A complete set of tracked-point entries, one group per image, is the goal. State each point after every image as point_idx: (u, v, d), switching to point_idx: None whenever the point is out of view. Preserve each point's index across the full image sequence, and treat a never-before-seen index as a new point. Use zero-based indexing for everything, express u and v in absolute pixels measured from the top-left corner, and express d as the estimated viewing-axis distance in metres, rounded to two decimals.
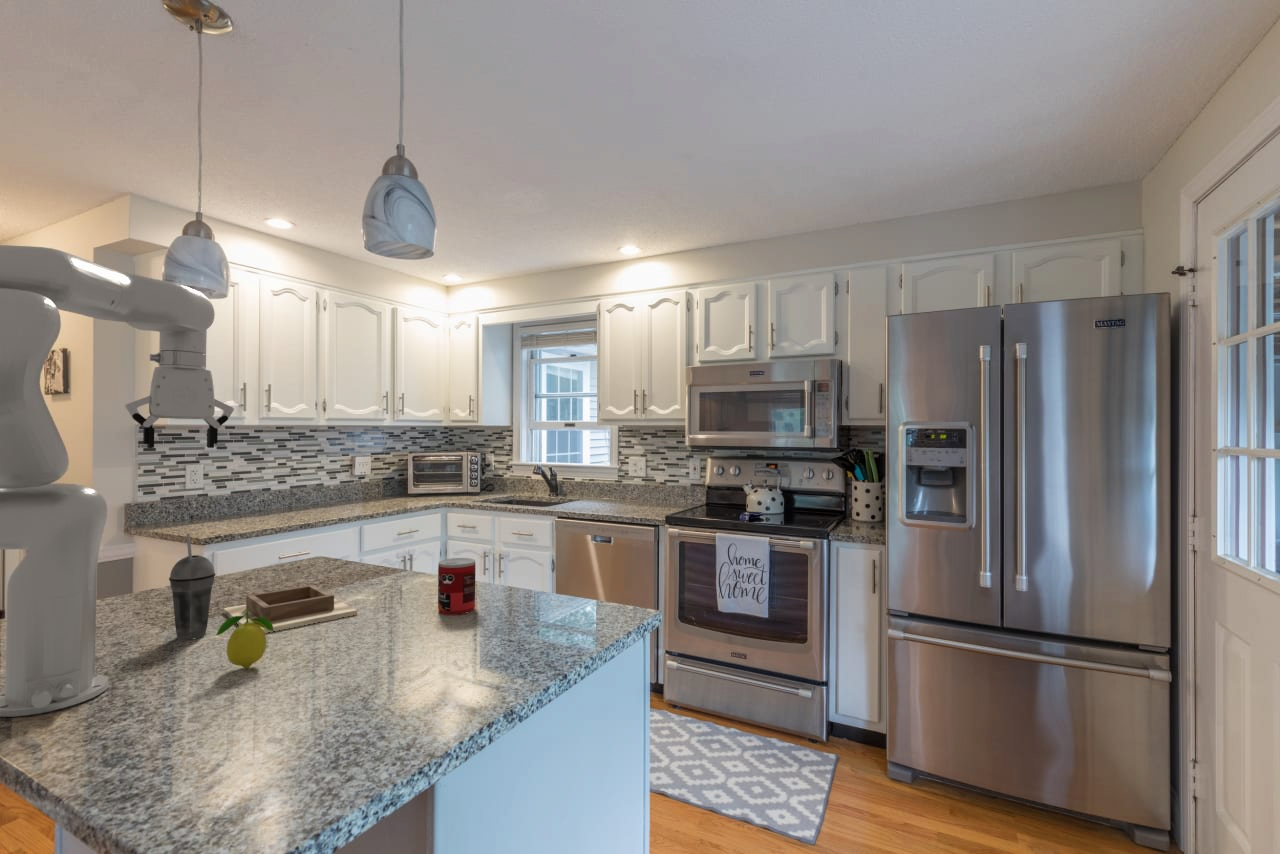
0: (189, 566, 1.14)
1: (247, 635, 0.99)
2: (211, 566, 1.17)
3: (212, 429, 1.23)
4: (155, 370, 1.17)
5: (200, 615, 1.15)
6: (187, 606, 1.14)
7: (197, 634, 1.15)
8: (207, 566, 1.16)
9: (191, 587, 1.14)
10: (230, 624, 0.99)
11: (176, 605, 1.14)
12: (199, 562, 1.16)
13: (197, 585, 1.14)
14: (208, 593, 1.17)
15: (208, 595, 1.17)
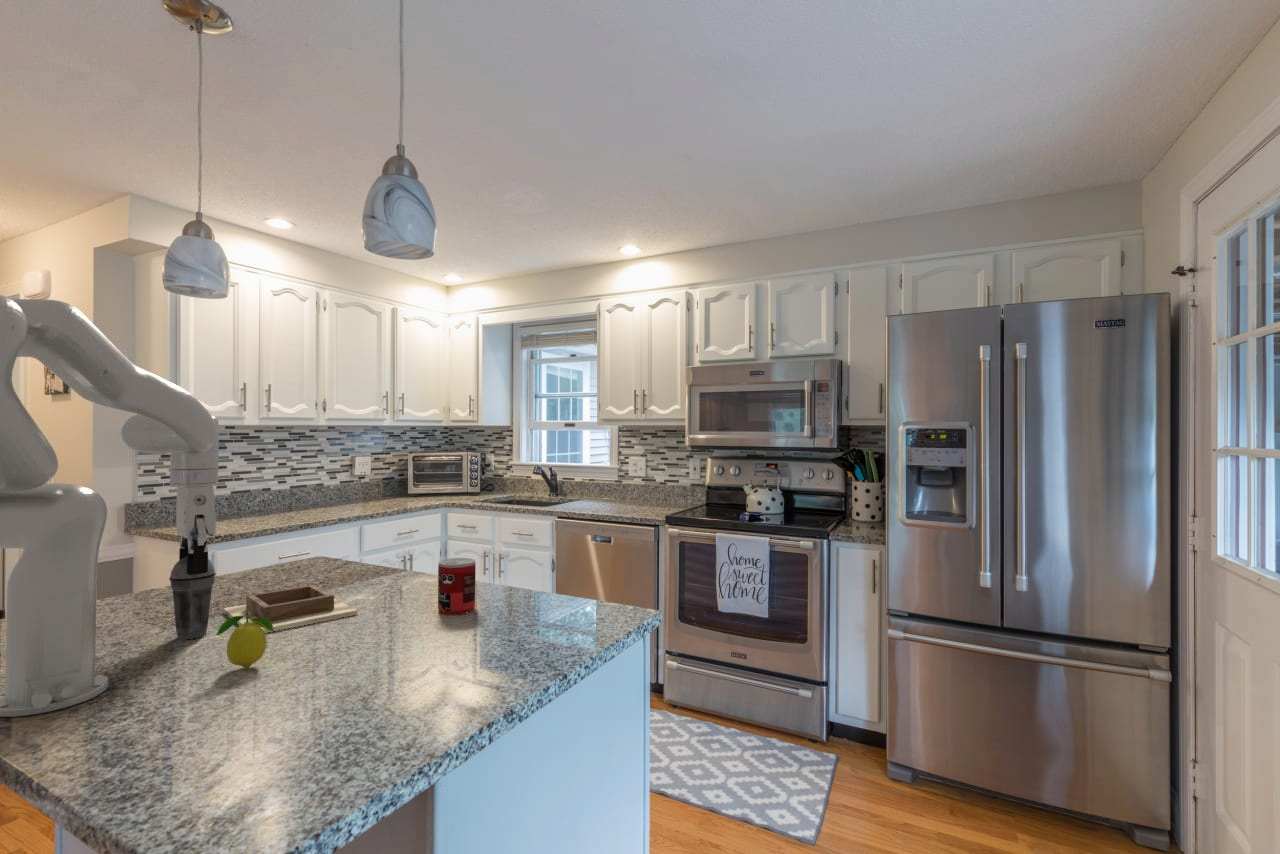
0: None
1: (247, 635, 0.99)
2: (211, 566, 1.18)
3: None
4: (208, 490, 1.15)
5: (200, 615, 1.16)
6: (187, 605, 1.14)
7: (197, 634, 1.15)
8: None
9: (192, 586, 1.14)
10: (230, 624, 0.99)
11: (176, 605, 1.14)
12: None
13: (197, 584, 1.15)
14: (208, 593, 1.17)
15: (208, 595, 1.17)
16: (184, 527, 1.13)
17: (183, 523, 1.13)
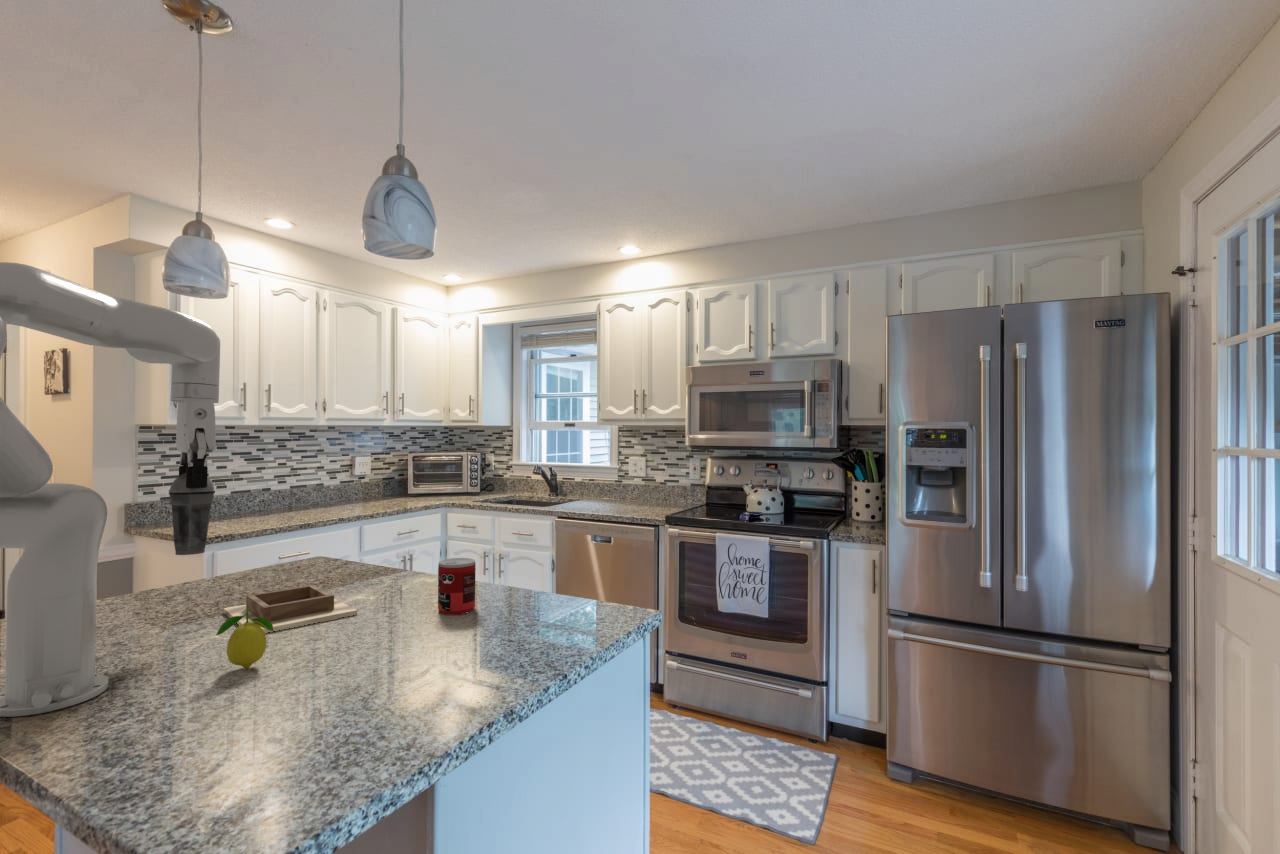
0: None
1: (247, 635, 0.99)
2: (211, 483, 1.17)
3: None
4: (209, 404, 1.15)
5: (199, 530, 1.15)
6: (186, 520, 1.14)
7: (196, 549, 1.15)
8: None
9: (191, 500, 1.14)
10: (230, 624, 0.99)
11: (175, 519, 1.14)
12: None
13: (197, 499, 1.14)
14: (207, 509, 1.17)
15: (207, 512, 1.17)
16: (184, 440, 1.12)
17: (183, 436, 1.13)
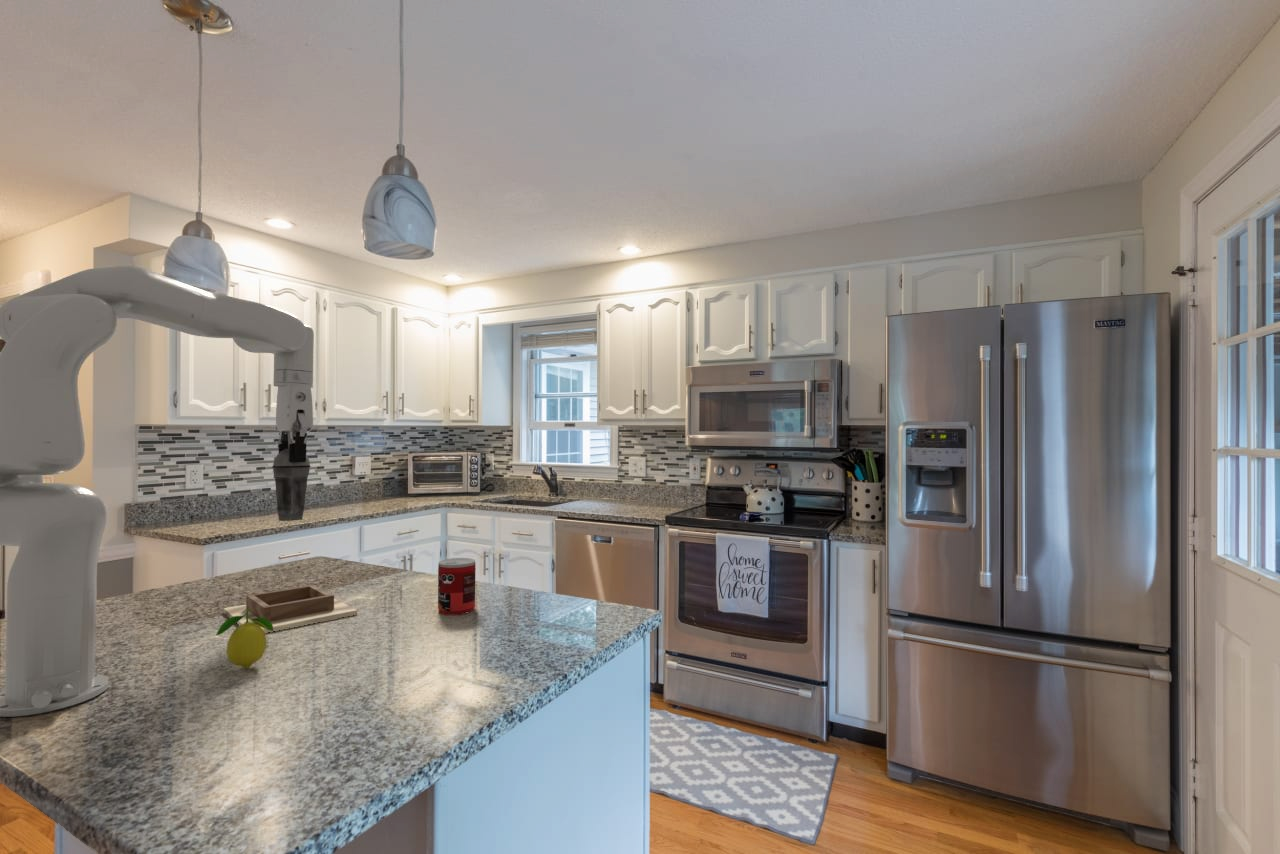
0: None
1: (247, 635, 0.99)
2: (307, 458, 1.33)
3: None
4: (307, 389, 1.30)
5: (299, 499, 1.31)
6: (289, 490, 1.29)
7: (296, 516, 1.30)
8: None
9: (293, 473, 1.29)
10: (230, 624, 0.99)
11: (279, 489, 1.29)
12: None
13: (297, 472, 1.30)
14: (305, 481, 1.32)
15: (305, 483, 1.32)
16: (287, 420, 1.28)
17: (286, 416, 1.28)
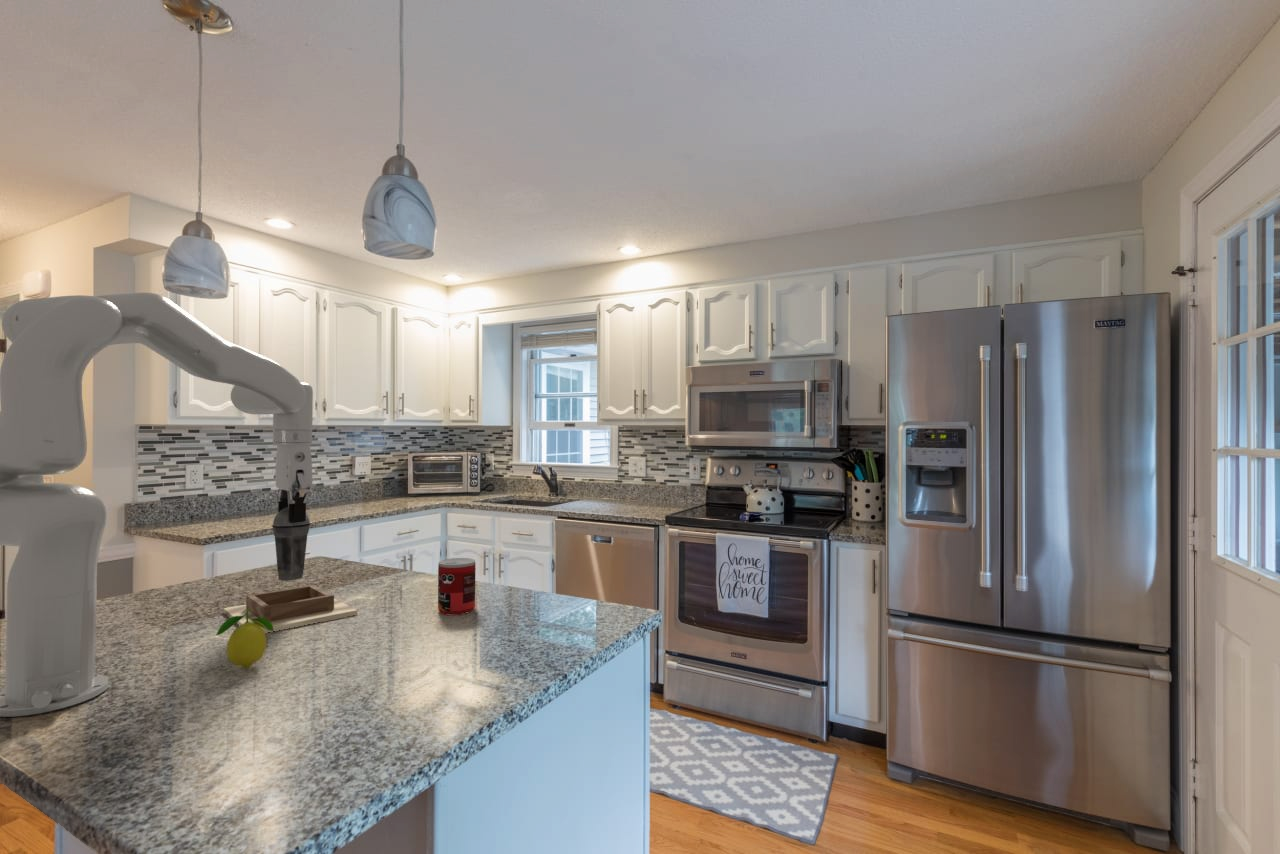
0: None
1: (247, 635, 0.99)
2: (307, 516, 1.33)
3: None
4: (306, 448, 1.30)
5: (299, 559, 1.31)
6: (289, 550, 1.29)
7: (296, 575, 1.31)
8: None
9: (293, 533, 1.29)
10: (230, 624, 0.99)
11: (279, 549, 1.29)
12: None
13: (297, 532, 1.30)
14: (305, 540, 1.32)
15: (305, 541, 1.32)
16: (287, 480, 1.28)
17: (286, 477, 1.28)
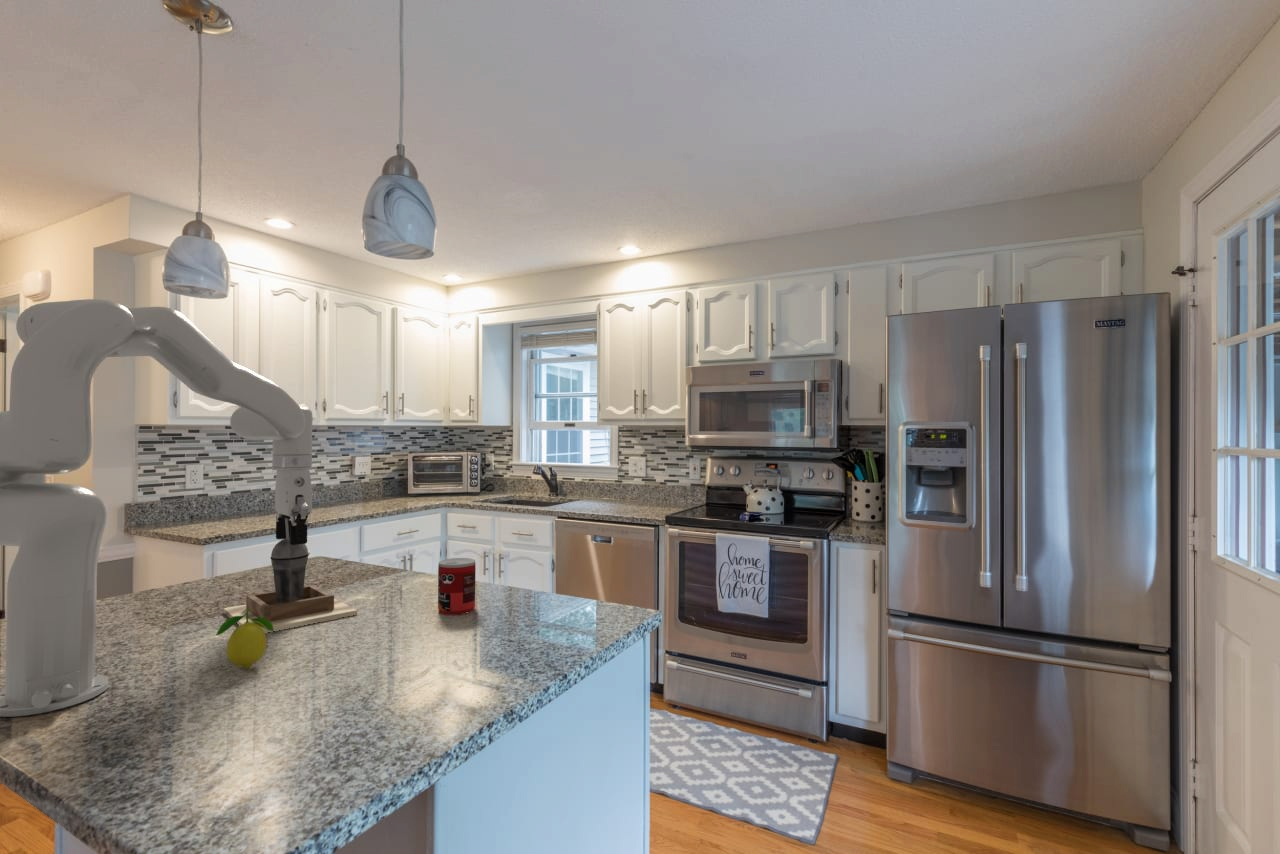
0: (288, 547, 1.29)
1: (247, 635, 0.99)
2: (305, 547, 1.32)
3: None
4: (306, 473, 1.30)
5: (297, 590, 1.30)
6: (287, 582, 1.29)
7: None
8: (302, 547, 1.31)
9: (291, 565, 1.29)
10: (230, 624, 0.99)
11: (277, 581, 1.29)
12: None
13: (295, 563, 1.29)
14: (303, 571, 1.32)
15: (303, 573, 1.32)
16: (286, 505, 1.28)
17: (285, 502, 1.28)
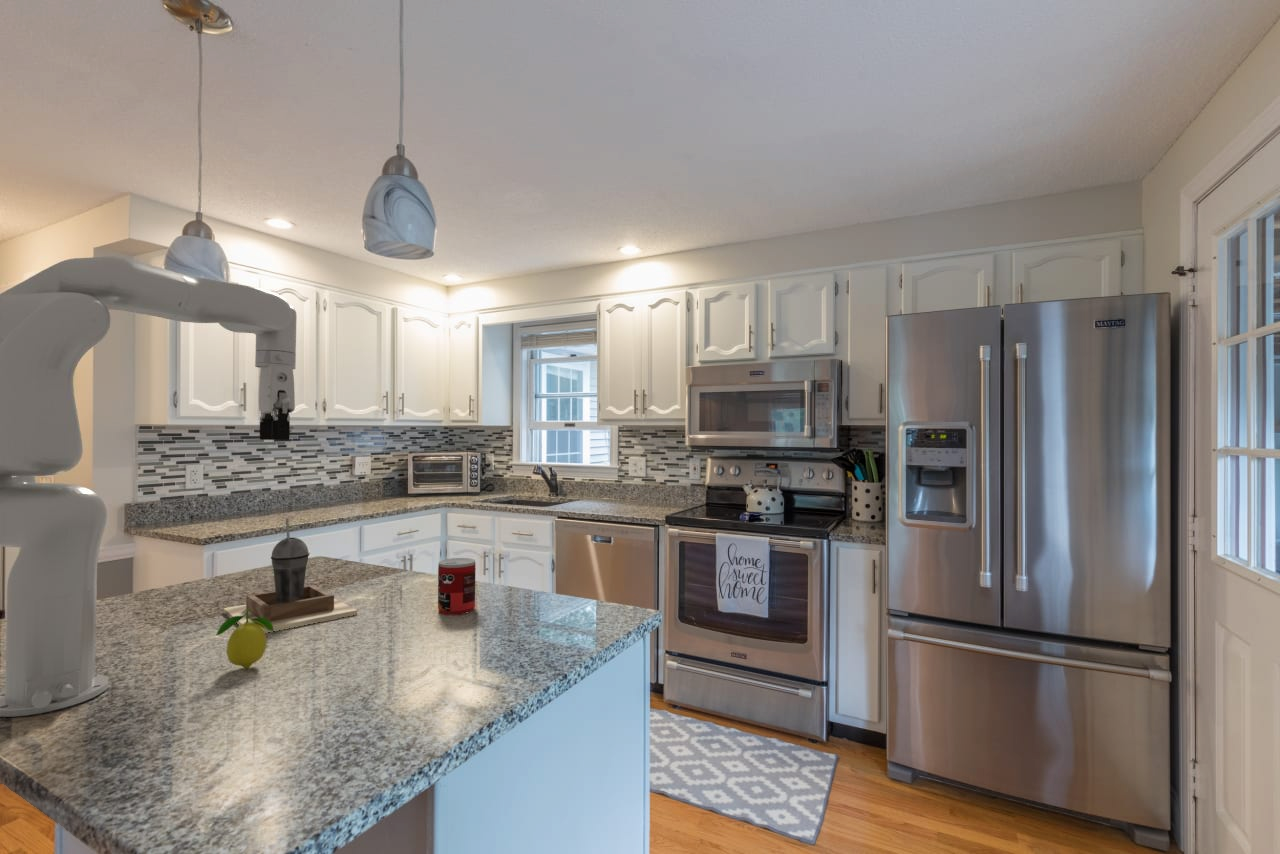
0: (289, 546, 1.29)
1: (247, 635, 0.99)
2: (306, 547, 1.32)
3: None
4: (289, 369, 1.29)
5: (298, 590, 1.30)
6: (287, 582, 1.29)
7: None
8: (303, 546, 1.31)
9: (291, 565, 1.29)
10: (230, 624, 0.99)
11: (278, 581, 1.29)
12: (297, 543, 1.31)
13: (296, 563, 1.29)
14: (304, 571, 1.32)
15: (304, 573, 1.32)
16: (268, 400, 1.27)
17: (267, 397, 1.27)
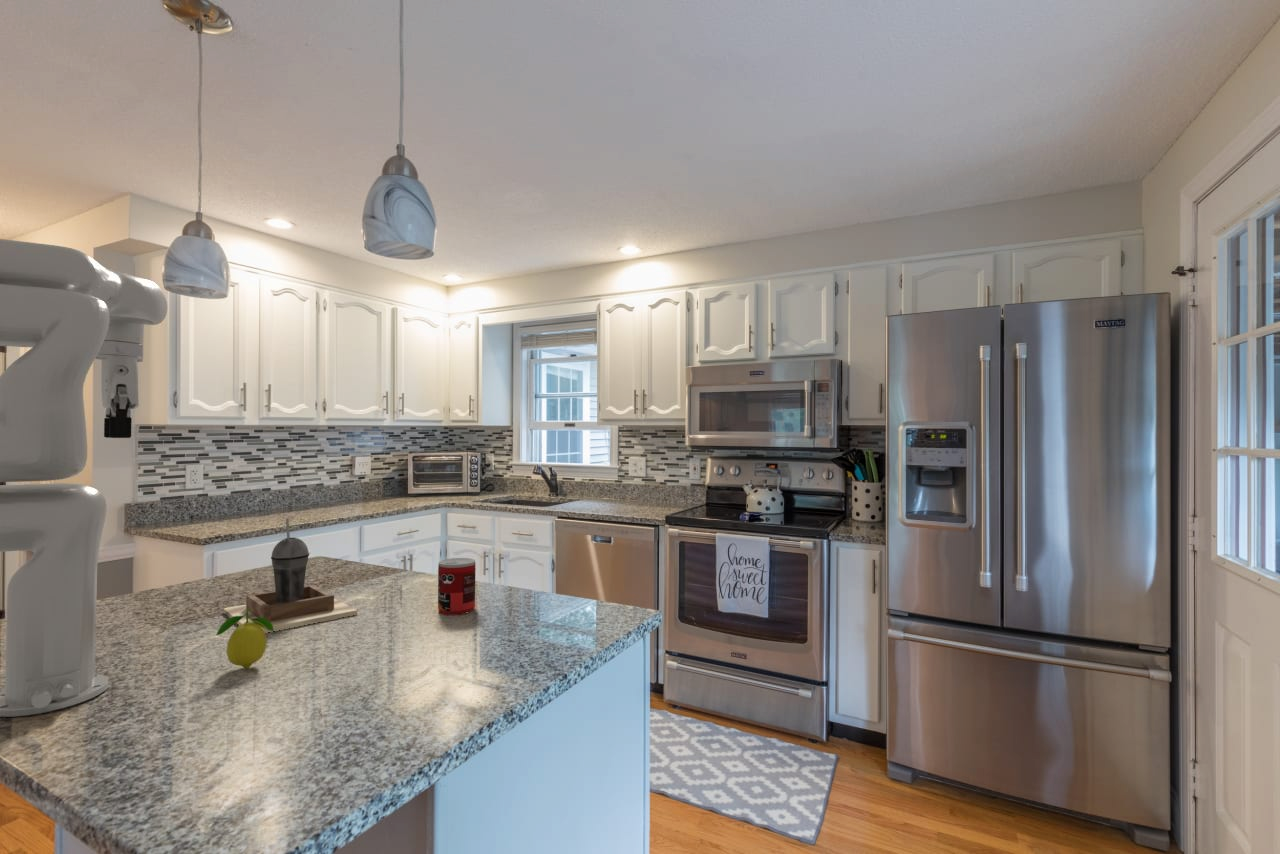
0: (289, 546, 1.29)
1: (247, 635, 0.99)
2: (306, 547, 1.32)
3: None
4: (131, 361, 1.19)
5: (298, 590, 1.30)
6: (287, 582, 1.29)
7: None
8: (303, 547, 1.31)
9: (291, 565, 1.29)
10: (230, 624, 0.99)
11: (278, 581, 1.29)
12: (297, 543, 1.31)
13: (296, 563, 1.29)
14: (304, 571, 1.32)
15: (304, 573, 1.32)
16: (106, 395, 1.17)
17: (105, 391, 1.17)
